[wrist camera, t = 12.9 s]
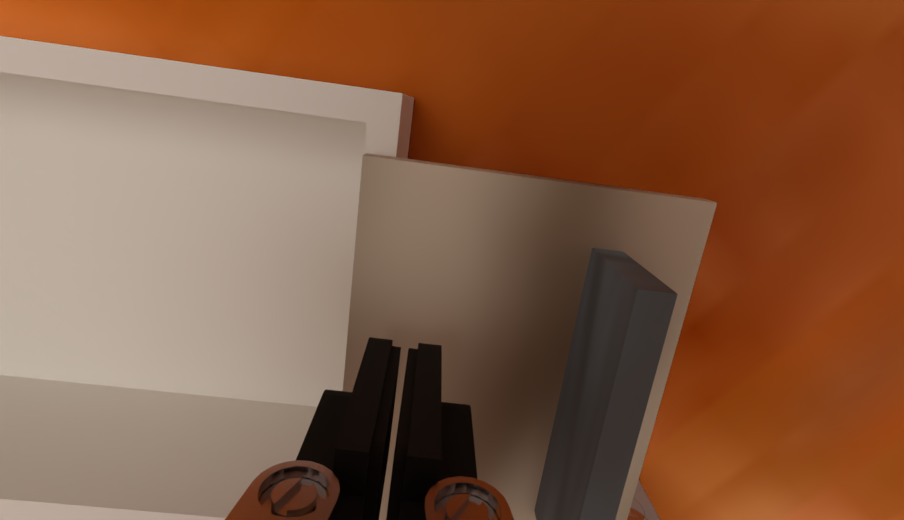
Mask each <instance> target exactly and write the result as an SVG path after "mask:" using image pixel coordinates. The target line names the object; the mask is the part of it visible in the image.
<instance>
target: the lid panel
mask: <svg viewBox="0 0 904 520" xmlns="http://www.w3.org/2000/svg"><path fill="white" fill-rule="evenodd" d="M716 205H717V203H716V202H714V201H711V200H708V199H705V198H697V197H690V196H682V195H675V194H667V193H660V192H653V191H645V190H638V189H630V188H623V187H615V186H608V185H600V184H593V183H585V182H578V181H570V180H563V179H556V178H548V177H541V176H533V175H526V174H518V173H511V172H503V171H496V170H488V169H481V168H474V167H466V166H459V165H451V164H444V163H436V162H429V161H421V160H414V159H406V158H399V157H391V156H384V155H377V154H369V153H365V154H364V155H363V157H362V169H361V181H360V193H359V204H358V216H357V228H356V240H355V252H354V263H353V275H352V287H351V299H350V310H349V322H348V334H347V346H346V357H345V369H344V381H343V391H346V392H352V391H353V388H354V384H355V381H356V378H357V375H358V371H359V368H360V365H361V362H362V359H363V355H364V352H365V349H366V346H367V342H368V339H369V337H372V338H381V339H390V340H393V344H392V346H396V347H401V353H400V361H399V370H398V379H397V387H396V396H395V404H394V413H393V421H392V430H391V439H390V447H389V455H388V462H387V469H386V475H385V482H384V488H383V495H382V502H381V508H380V515H379V520H386V517H387V508H388V500H389V492H390V483H391V475H392V467H393V459H394V451H395V444H396V436H397V429H398V422H399V414H400V407H401V400H402V392H403V385H404V378H405V370H406V363H407V356H408V348H414V349H418V343H425V344H433V345H442V391H441V402H448V403H457V404H467V405H470V407H471V415H472V425H473V436H474V447H475V458H476V469H477V479H479V480H482V481H485V482H486V483H488V484H490V485H491V486H493V487H495V488H496V489H497V490H498V491H499V492H500V493H501V494H502V495H503V496H504V498H505V499H506V501H507V503H508V505H509V507H510V510H511V512H512V515H513V518H514V520H627V518H628V515H629V511H630V508H631V504H632V501H633V497H634V494H635V490H636V487H637V483H638V480H639V476H640V473H641V469H642V466H643V462H644V459H645V455H646V452H647V448H648V444H649V441H650V437H651V434H652V430H653V427H654V423H655V420H656V416H657V413H658V409H659V406H660V402H661V399H662V395H663V392H664V388H665V385H666V381H667V378H668V374H669V371H670V367H671V364H672V360H673V357H674V353H675V350H676V346H677V343H678V339H679V335H680V332H681V328H682V325H683V321H684V318H685V314H686V311H687V307H688V304H689V300H690V297H691V293H692V290H693V286H694V283H695V279H696V276H697V272H698V269H699V265H700V262H701V258H702V255H703V251H704V248H705V244H706V241H707V237H708V233H709V230H710V226H711V223H712V219H713V216H714V212H715V209H716Z"/></svg>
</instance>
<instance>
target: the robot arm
mask: <svg viewBox="0 0 904 520" xmlns="http://www.w3.org/2000/svg"><path fill="white" fill-rule="evenodd" d="M392 344H393V340H390V339H381V338H372V337H369V339H368V342H367V346H366V349H365V352H364V355H363V359H362V362H361V365H360V368H359V371H358V375H357V378H356V381H355V384H354V388H353V391H352V392H346V391H337V390H327V389H326V390H324V392H323V394H322V397H321V399H320V402H319V404H318V407H317V409H316V412H315V414H314V416H313V419H312V421H311V424H310V426H309V429H308V431H307V434H306V436H305V439H304V441H303V443H302V446H301V448H300V451H299V453H298V456H297V458H296V461H287V462H283V463H280V464H277V465H274V466H272V467H270V468H268V469H266V470H265V471H263V472H261V473H260V474H259V475H258V476H257V477H256V478H255V479H254V480H253V481H252V483H251V484H250V486H249V487H248V488H247V490H246V491H245V492H244V494H243V495H242V497H241V498H240V499H239V501H238V502H237V503H236V505H235V506H234V508H233V509H232V510H231V512H230V513H229V514H228V516H227V517H226V519H225V520H379V515H380V508H381V502H382V495H383V488H384V482H385V475H386V469H387V462H388V455H389V447H390V439H391V430H392V421H393V413H394V404H395V396H396V387H397V379H398V370H399V361H400V353H401V347H396V346H392ZM441 391H442V345H433V344H425V343H418V349H414V348H408V356H407V363H406V370H405V378H404V385H403V392H402V400H401V407H400V414H399V422H398V429H397V436H396V444H395V451H394V459H393V467H392V475H391V483H390V492H389V500H388V508H387V517H386V520H514V518H513V515H512V512H511V510H510V507H509V505H508V503H507V501H506V499H505V498H504V496H503V495H502V494H501V493H500V492H499V491H498V490H497V489H496V488H495V487H493V486H491V485H490V484H488V483H486V482H485V481H482V480H479V479H477V469H476V458H475V447H474V436H473V425H472V415H471V407H470V405H467V404H457V403H448V402H441Z"/></svg>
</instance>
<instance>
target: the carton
mask: <svg viewBox="0 0 904 520" xmlns="http://www.w3.org/2000/svg"><path fill="white" fill-rule="evenodd" d="M413 105H414V97H411V96H408V95H406V94H403V93H397V92H390V91H383V90H376V89H369V88H362V87H355V86H348V85H341V84H334V83H326V82H319V81H312V80H305V79H298V78H291V77H284V76H277V75H270V74H263V73H256V72H249V71H242V70H235V69H228V68H221V67H214V66H207V65H200V64H193V63H186V62H179V61H172V60H165V59H158V58H151V57H144V56H137V55H130V54H123V53H116V52H109V51H102V50H95V49H88V48H81V47H74V46H67V45H60V44H53V43H46V42H39V41H32V40H25V39H18V38H11V37H4V36H0V520H225V519H226V517H227V516H228V514H229V513H230V512H231V510H232V509H233V508H234V506H235V505H236V503H237V502H238V501H239V499H240V498H241V497H242V495H243V494H244V492H245V491H246V490H247V488H248V487H249V486H250V484H251V483H252V481H253V480H254V479H255V478H256V477H257V476H258V475H259V474H260V473H261V472H263V471H265V470H266V469H268V468H270V467H272V466H274V465H277V464H280V463H283V462H287V461H296V458H297V456H298V453H299V451H300V448H301V446H302V443H303V441H304V439H305V436H306V434H307V431H308V429H309V426H310V424H311V421H312V419H313V416H314V414H315V412H316V409H317V407H318V404H319V402H320V399H321V397H322V394H323V392H324V390H326V389H327V390H337V391H343V381H344V369H345V357H346V346H347V334H348V322H349V310H350V299H351V287H352V275H353V263H354V252H355V240H356V228H357V216H358V204H359V193H360V181H361V169H362V157H363V155H364V154H365V153H369V154H377V155H384V156H391V157H399V158H406V159H408V151H409V142H410V133H411V124H412V114H413Z"/></svg>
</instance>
